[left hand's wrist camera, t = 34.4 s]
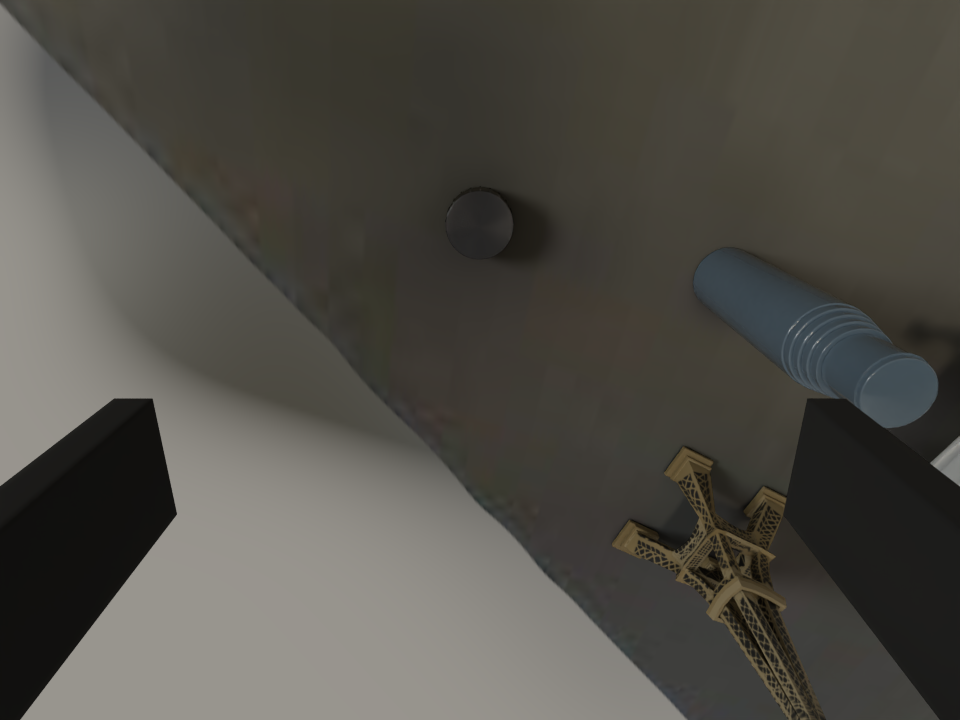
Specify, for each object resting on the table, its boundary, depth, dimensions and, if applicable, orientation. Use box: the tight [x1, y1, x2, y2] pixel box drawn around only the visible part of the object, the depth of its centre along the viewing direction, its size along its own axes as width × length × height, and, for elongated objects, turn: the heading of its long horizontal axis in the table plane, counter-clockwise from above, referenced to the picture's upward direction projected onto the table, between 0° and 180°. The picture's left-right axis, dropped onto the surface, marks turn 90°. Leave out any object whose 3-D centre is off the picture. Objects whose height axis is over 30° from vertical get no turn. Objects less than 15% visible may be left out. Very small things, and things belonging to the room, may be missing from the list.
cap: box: [445, 186, 514, 259], centre depth 41 cm, size 4×4×2 cm
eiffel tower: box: [612, 446, 826, 720], centre depth 40 cm, size 11×11×25 cm
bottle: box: [693, 248, 938, 428], centre depth 35 cm, size 5×5×20 cm
